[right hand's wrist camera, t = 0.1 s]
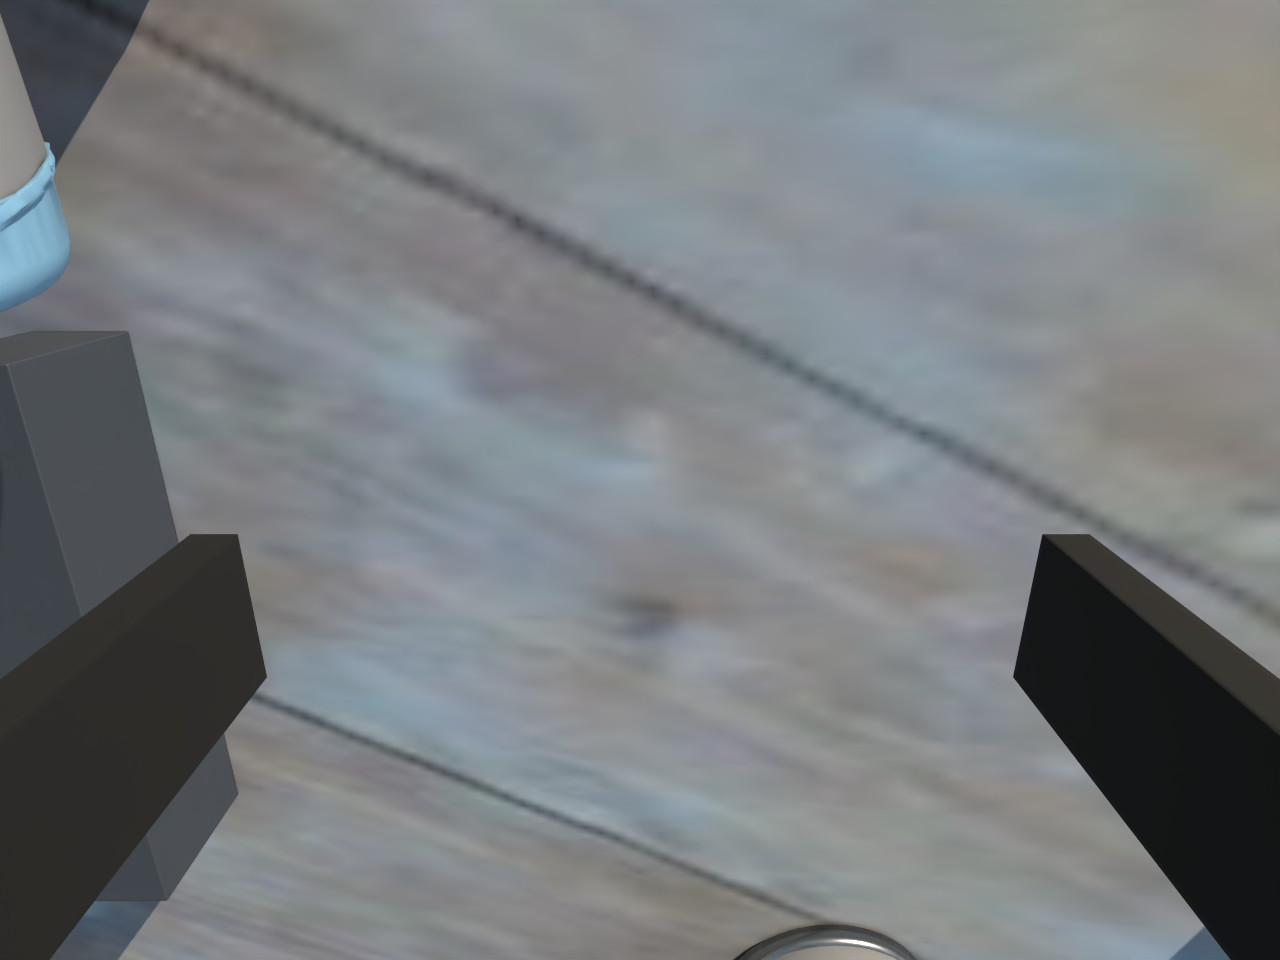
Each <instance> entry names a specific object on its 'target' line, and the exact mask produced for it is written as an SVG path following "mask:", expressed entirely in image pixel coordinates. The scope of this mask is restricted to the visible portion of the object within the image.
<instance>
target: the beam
mask: <svg viewBox="0 0 1280 960" xmlns="http://www.w3.org/2000/svg"><path fill="white" fill-rule="evenodd" d="M177 544H178V539H177V535H176V531H175V527H174V523H173V518H172V514H171V510H170V506H169V501H168V497H167V493H166V489H165V485H164V480H163V476H162V472H161V468H160V464H159V459H158V455H157V451H156V447H155V443H154V438H153V434H152V430H151V426H150V422H149V417H148V413H147V409H146V405H145V401H144V396H143V392H142V388H141V384H140V380H139V375H138V371H137V367H136V363H135V359H134V354H133V350H132V346H131V342H130V337H129V333H128V332H126V331H31V332H27V333H23V334H18V335H14V336H10V337H5V338H1V339H0V679H1V678H3V677H4V676H5V675H6V674H8V673H9V672H10V671H12V670H13V669H14V668H16V667H17V666H18V665H20V664H21V663H22V662H24V661H25V660H26V659H28V658H29V657H30V656H31V655H33V654H34V653H35V652H37V651H38V650H39V649H41V648H42V647H43V646H45V645H46V644H47V643H49V642H50V641H51V640H52V639H54V638H55V637H56V636H58V635H59V634H60V633H62V632H63V631H64V630H66V629H67V628H68V627H70V626H71V625H72V624H73V623H75V622H76V621H77V620H79V619H80V618H81V617H83V616H84V615H85V614H87V613H88V612H89V611H91V610H92V609H93V608H94V607H96V606H97V605H98V604H100V603H101V602H102V601H104V600H105V599H106V598H108V597H109V596H110V595H112V594H113V593H114V592H116V591H117V590H118V589H119V588H121V587H122V586H123V585H125V584H126V583H127V582H129V581H130V580H131V579H133V578H134V577H135V576H137V575H138V574H139V573H140V572H142V571H143V570H144V569H146V568H147V567H148V566H150V565H151V564H152V563H154V562H155V561H156V560H158V559H159V558H160V557H161V556H163V555H164V554H165V553H167V552H168V551H169V550H171V549H172V548H173V547H175V546H176V545H177ZM237 795H238V792H237V787H236V783H235V779H234V775H233V771H232V766H231V762H230V758H229V754H228V750H227V745H226V741H225V737H224V733H223V735H222V736H221V737H220V739H219V740H218V741H217V742H216V744H215V745H214V746H213V748H212V749H211V750H210V752H209V753H208V754H207V755H206V757H205V758H204V759H203V761H202V762H201V763H200V765H199V766H198V767H197V768H196V770H195V771H194V772H193V774H192V775H191V776H190V778H189V779H188V780H187V781H186V783H185V784H184V785H183V787H182V788H181V789H180V791H179V792H178V793H177V794H176V796H175V797H174V798H173V800H172V801H171V802H170V804H169V805H168V806H167V807H166V809H165V810H164V811H163V813H162V814H161V815H160V817H159V818H158V819H157V820H156V822H155V823H154V824H153V826H152V827H151V828H150V830H149V831H148V832H147V833H146V835H145V836H144V837H143V839H142V840H141V841H140V843H139V844H138V845H137V846H136V848H135V849H134V850H133V852H132V853H131V854H130V856H129V857H128V858H127V859H126V861H125V862H124V863H123V865H122V866H121V867H120V868H119V870H118V871H117V872H116V874H115V875H114V876H113V878H112V879H111V880H110V881H109V883H108V884H107V885H106V887H105V888H104V889H103V891H102V892H101V893H100V894H99V896H98V897H97V898H96V900H95V901H167V900H168V899H169V897H170V896H171V894H172V893H173V891H174V890H175V888H176V887H177V885H178V884H179V882H180V881H181V879H182V878H183V876H184V875H185V873H186V872H187V870H188V869H189V867H190V866H191V864H192V863H193V861H194V860H195V858H196V857H197V855H198V854H199V852H200V851H201V849H202V848H203V846H204V845H205V843H206V842H207V840H208V839H209V837H210V836H211V834H212V833H213V831H214V830H215V828H216V827H217V825H218V824H219V822H220V821H221V819H222V818H223V816H224V815H225V813H226V812H227V810H228V809H229V807H230V806H231V804H232V803H233V801H234V800H235V798H236V797H237Z"/></svg>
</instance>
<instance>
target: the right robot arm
mask: <svg viewBox="0 0 1280 960" xmlns="http://www.w3.org/2000/svg"><path fill="white" fill-rule="evenodd" d="M266 678H267V675H266V670H265V666H264V661H263V656H262V651H261V646H260V641H259V636H258V632H257V627H256V622H255V617H254V612H253V607H252V602H251V597H250V593H249V588H248V583H247V578H246V573H245V568H244V563H243V559H242V554H241V549H240V544H239V539H238V534H190V535H189V536H188V537H186V538H185V539H184V540H183V541H181V542H180V543H179V544H177V545H176V546H175V547H173V548H172V549H171V550H169V551H168V552H167V553H165V554H164V555H163V556H161V557H160V558H159V559H158V560H156V561H155V562H154V563H152V564H151V565H150V566H148V567H147V568H146V569H144V570H143V571H142V572H140V573H139V574H138V575H137V576H135V577H134V578H133V579H131V580H130V581H129V582H127V583H126V584H125V585H123V586H122V587H121V588H119V589H118V590H117V591H116V592H114V593H113V594H112V595H110V596H109V597H108V598H106V599H105V600H104V601H102V602H101V603H100V604H98V605H97V606H96V607H94V608H93V609H92V610H91V611H89V612H88V613H87V614H85V615H84V616H83V617H81V618H80V619H79V620H77V621H76V622H75V623H73V624H72V625H71V626H70V627H68V628H67V629H66V630H64V631H63V632H62V633H60V634H59V635H58V636H56V637H55V638H54V639H52V640H51V641H50V642H49V643H47V644H46V645H45V646H43V647H42V648H41V649H39V650H38V651H37V652H35V653H34V654H33V655H31V656H30V657H29V658H28V659H26V660H25V661H24V662H22V663H21V664H20V665H18V666H17V667H16V668H14V669H13V670H12V671H10V672H9V673H8V674H6V675H5V676H4V677H3V678H1V679H0V960H49V959H50V958H51V957H52V956H53V954H54V953H55V952H56V950H57V949H58V948H59V946H60V945H61V944H62V943H63V941H64V940H65V939H66V937H67V936H68V935H69V933H70V932H71V931H72V930H73V928H74V927H75V926H76V924H77V923H78V922H79V920H80V919H81V918H82V917H83V915H84V914H85V913H86V911H87V910H88V909H89V907H90V906H91V905H92V904H93V902H94V901H95V900H96V898H97V897H98V896H99V894H100V893H101V892H102V891H103V889H104V888H105V887H106V885H107V884H108V883H109V881H110V880H111V879H112V878H113V876H114V875H115V874H116V872H117V871H118V870H119V868H120V867H121V866H122V865H123V863H124V862H125V861H126V859H127V858H128V857H129V856H130V854H131V853H132V852H133V850H134V849H135V848H136V846H137V845H138V844H139V843H140V841H141V840H142V839H143V837H144V836H145V835H146V833H147V832H148V831H149V830H150V828H151V827H152V826H153V824H154V823H155V822H156V820H157V819H158V818H159V817H160V815H161V814H162V813H163V811H164V810H165V809H166V807H167V806H168V805H169V804H170V802H171V801H172V800H173V798H174V797H175V796H176V794H177V793H178V792H179V791H180V789H181V788H182V787H183V785H184V784H185V783H186V781H187V780H188V779H189V778H190V776H191V775H192V774H193V772H194V771H195V770H196V768H197V767H198V766H199V765H200V763H201V762H202V761H203V759H204V758H205V757H206V755H207V754H208V753H209V752H210V750H211V749H212V748H213V746H214V745H215V744H216V742H217V741H218V740H219V739H220V737H221V736H222V735H223V733H224V732H225V731H226V729H227V728H228V727H229V726H230V724H231V723H232V722H233V720H234V719H235V718H236V716H237V715H238V714H239V713H240V711H241V710H242V709H243V707H244V706H245V705H246V703H247V702H248V701H249V700H250V698H251V697H252V696H253V694H254V693H255V692H256V690H257V689H258V688H259V687H260V685H261V684H262V683H263V681H264V680H265V679H266ZM1013 678H1014V679H1015V680H1016V681H1017V683H1018V684H1019V685H1020V687H1021V688H1022V689H1023V690H1024V692H1025V693H1026V694H1027V696H1028V697H1029V698H1030V700H1031V701H1032V702H1033V703H1034V705H1035V706H1036V707H1037V709H1038V710H1039V711H1040V713H1041V714H1042V715H1043V716H1044V718H1045V719H1046V720H1047V722H1048V723H1049V724H1050V726H1051V727H1052V728H1053V729H1054V731H1055V732H1056V733H1057V735H1058V736H1059V737H1060V739H1061V740H1062V741H1063V742H1064V744H1065V745H1066V746H1067V748H1068V749H1069V750H1070V752H1071V753H1072V754H1073V755H1074V757H1075V758H1076V759H1077V761H1078V762H1079V763H1080V765H1081V766H1082V767H1083V768H1084V770H1085V771H1086V772H1087V774H1088V775H1089V776H1090V778H1091V779H1092V780H1093V781H1094V783H1095V784H1096V785H1097V787H1098V788H1099V789H1100V791H1101V792H1102V793H1103V794H1104V796H1105V797H1106V798H1107V800H1108V801H1109V802H1110V804H1111V805H1112V806H1113V807H1114V809H1115V810H1116V811H1117V813H1118V814H1119V815H1120V817H1121V818H1122V819H1123V820H1124V822H1125V823H1126V824H1127V826H1128V827H1129V828H1130V830H1131V831H1132V832H1133V833H1134V835H1135V836H1136V837H1137V839H1138V840H1139V841H1140V843H1141V844H1142V845H1143V846H1144V848H1145V849H1146V850H1147V852H1148V853H1149V854H1150V856H1151V857H1152V858H1153V859H1154V861H1155V862H1156V863H1157V865H1158V866H1159V867H1160V868H1161V870H1162V871H1163V872H1164V874H1165V875H1166V876H1167V878H1168V879H1169V880H1170V881H1171V883H1172V884H1173V885H1174V887H1175V888H1176V889H1177V891H1178V892H1179V893H1180V894H1181V896H1182V897H1183V898H1184V900H1185V901H1186V902H1187V904H1188V905H1189V906H1190V907H1191V909H1192V910H1193V911H1194V913H1195V914H1196V915H1197V917H1198V918H1199V919H1200V920H1201V922H1202V923H1203V924H1204V926H1205V927H1206V928H1207V930H1208V931H1209V932H1210V933H1211V935H1212V936H1213V937H1214V939H1215V940H1216V941H1217V943H1218V944H1219V945H1220V946H1221V948H1222V949H1223V950H1224V952H1225V953H1226V954H1227V956H1228V957H1229V958H1230V959H1231V960H1280V679H1279V678H1277V677H1276V676H1275V675H1274V674H1272V673H1271V672H1270V671H1268V670H1267V669H1266V668H1264V667H1263V666H1262V665H1260V664H1259V663H1258V662H1256V661H1255V660H1254V659H1252V658H1251V657H1250V656H1249V655H1247V654H1246V653H1245V652H1243V651H1242V650H1241V649H1239V648H1238V647H1237V646H1235V645H1234V644H1233V643H1231V642H1230V641H1229V640H1228V639H1226V638H1225V637H1224V636H1222V635H1221V634H1220V633H1218V632H1217V631H1216V630H1214V629H1213V628H1212V627H1210V626H1209V625H1208V624H1207V623H1205V622H1204V621H1203V620H1201V619H1200V618H1199V617H1197V616H1196V615H1195V614H1193V613H1192V612H1191V611H1189V610H1188V609H1187V608H1186V607H1184V606H1183V605H1182V604H1180V603H1179V602H1178V601H1176V600H1175V599H1174V598H1172V597H1171V596H1170V595H1168V594H1167V593H1166V592H1164V591H1163V590H1162V589H1161V588H1159V587H1158V586H1157V585H1155V584H1154V583H1153V582H1151V581H1150V580H1149V579H1147V578H1146V577H1145V576H1143V575H1142V574H1141V573H1140V572H1138V571H1137V570H1136V569H1134V568H1133V567H1132V566H1130V565H1129V564H1128V563H1126V562H1125V561H1124V560H1122V559H1121V558H1120V557H1119V556H1117V555H1116V554H1115V553H1113V552H1112V551H1111V550H1109V549H1108V548H1107V547H1105V546H1104V545H1103V544H1101V543H1100V542H1099V541H1097V540H1096V539H1095V538H1094V537H1092V536H1091V535H1090V534H1042V539H1041V544H1040V549H1039V554H1038V559H1037V563H1036V568H1035V573H1034V578H1033V583H1032V588H1031V593H1030V597H1029V602H1028V607H1027V612H1026V617H1025V622H1024V627H1023V632H1022V636H1021V641H1020V646H1019V651H1018V656H1017V661H1016V666H1015V670H1014V675H1013ZM739 960H916V959H915V958H914V957H913V955H912V954H911V953H910V952H909V951H908V950H907V949H905V948H904V947H903V946H902V945H900V944H899V943H897V942H896V941H894V940H892V939H891V938H889V937H887V936H884V935H882V934H880V933H877V932H874V931H871V930H867V929H864V928H859V927H854V926H845V925H818V926H809V927H803V928H798V929H794V930H790V931H787V932H784V933H781V934H778V935H776V936H774V937H771V938H769V939H767V940H765V941H763V942H761V943H760V944H758V945H756V946H755V947H753V948H752V949H750V950H749V951H748V952H746V953H745V954H744V955H743V956H742V957H741V958H740V959H739Z"/></svg>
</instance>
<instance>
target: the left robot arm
mask: <svg viewBox="0 0 1280 960" xmlns="http://www.w3.org/2000/svg"><path fill="white" fill-rule="evenodd" d="M54 173H55V157H54V155H53V154H52V152H51V150H50V144H49V143H47V142H46V141H45V140H44V139H43V138H42V135H41V132H40V129H39V126H38V123H37V120H36V117H35V114H34V111H33V108H32V105H31V102H30V99H29V97H28V94H27V91H26V88H25V85H24V82H23V79H22V76H21V73H20V70H19V67H18V64H17V61H16V58H15V55H14V53H13V50H12V47H11V44H10V41H9V38H8V35H7V32H6V29H5V26H4V23H3V20H2V17H1V14H0V312H2V311H5V310H7V309H10V308H12V307H14V306H17V305H19V304H22V303H24V302H26V301H28V300H30V299H32V298H34V297H36V296H37V295H39V294H41V293H42V292H44V291H45V290H47V289H48V288H49V287H50V286H52V285H53V284H54V283H55V282H56V281H57V280H58V278H59V277H60V276H61V275H62V273H63V272H64V270H65V268H66V266H67V263H68V260H69V255H70V239H69V234H68V230H67V227H66V223H65V220H64V216H63V213H62V209H61V206H60V202H59V198H58V195H57V191H56V187H55V184H54V180H53V178H54Z"/></svg>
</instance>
